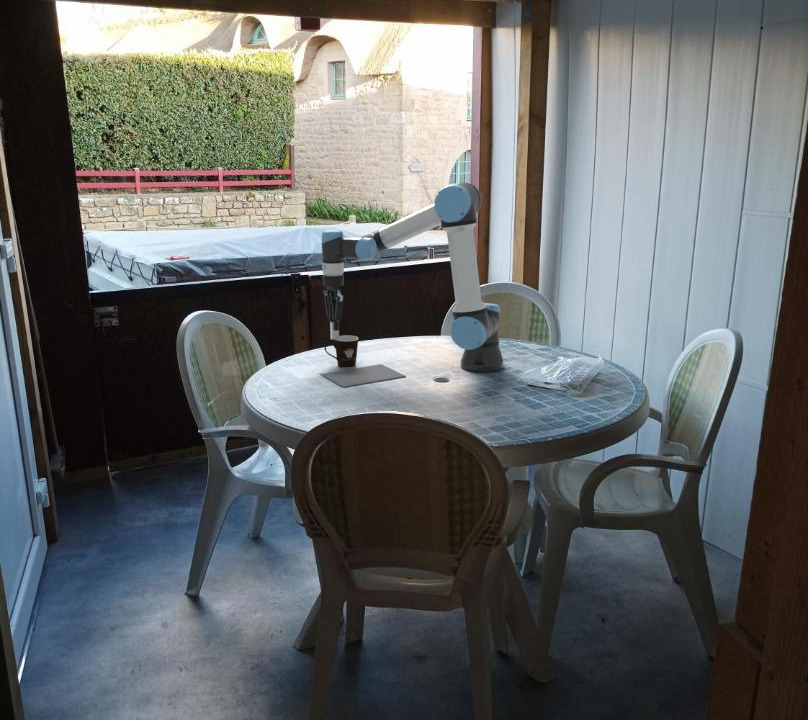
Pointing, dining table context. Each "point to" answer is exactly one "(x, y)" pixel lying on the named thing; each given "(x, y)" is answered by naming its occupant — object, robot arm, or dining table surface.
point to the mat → (362, 375)
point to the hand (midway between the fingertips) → (334, 338)
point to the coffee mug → (345, 350)
